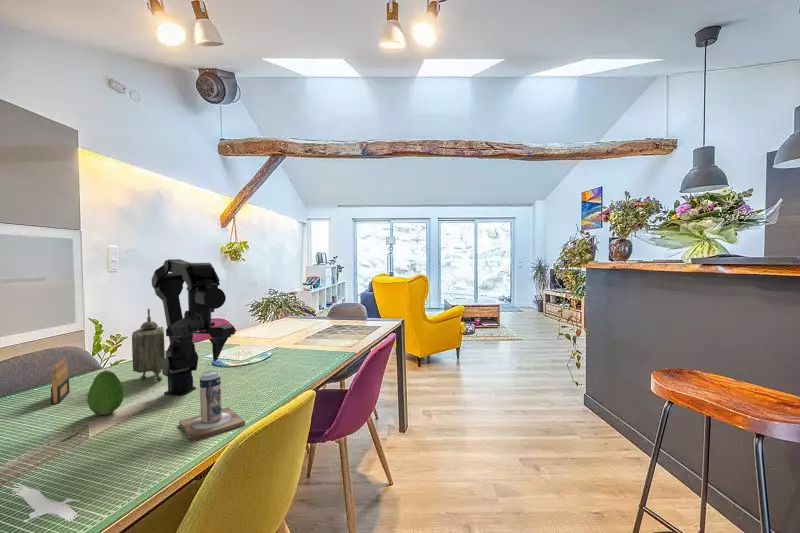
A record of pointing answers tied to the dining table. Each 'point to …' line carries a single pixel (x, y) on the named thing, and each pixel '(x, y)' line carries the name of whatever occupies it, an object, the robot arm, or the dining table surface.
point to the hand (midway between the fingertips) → (201, 360)
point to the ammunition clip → (59, 381)
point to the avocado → (105, 393)
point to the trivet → (210, 425)
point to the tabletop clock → (148, 348)
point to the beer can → (210, 396)
